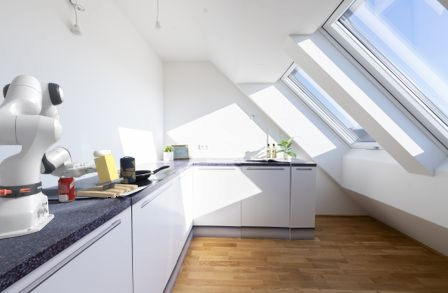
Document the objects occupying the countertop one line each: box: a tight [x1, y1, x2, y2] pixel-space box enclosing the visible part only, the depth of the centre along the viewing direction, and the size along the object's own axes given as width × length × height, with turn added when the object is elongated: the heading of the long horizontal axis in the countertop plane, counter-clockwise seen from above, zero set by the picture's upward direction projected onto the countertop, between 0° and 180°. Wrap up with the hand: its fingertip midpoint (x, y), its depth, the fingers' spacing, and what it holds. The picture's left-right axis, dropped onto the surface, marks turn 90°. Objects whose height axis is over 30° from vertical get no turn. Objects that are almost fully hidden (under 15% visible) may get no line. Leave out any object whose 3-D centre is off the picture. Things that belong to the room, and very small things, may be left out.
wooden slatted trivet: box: [75, 182, 139, 199], centre depth 132 cm, size 22×22×4 cm
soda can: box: [57, 176, 76, 204], centre depth 113 cm, size 7×7×12 cm
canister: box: [119, 155, 137, 184], centre depth 157 cm, size 10×10×18 cm
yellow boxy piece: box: [92, 149, 123, 187], centre depth 132 cm, size 10×10×19 cm
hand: (97, 170), depth 133 cm, fingers closed
